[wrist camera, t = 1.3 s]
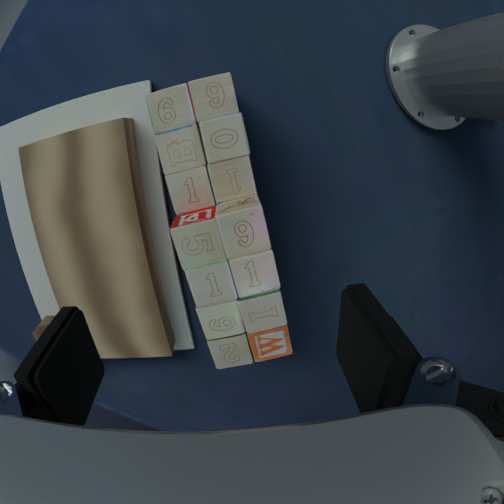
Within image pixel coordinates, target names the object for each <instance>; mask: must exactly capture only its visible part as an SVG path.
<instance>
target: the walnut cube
mask: <svg viewBox="0 0 504 504" xmlns="http://www.w3.org/2000/svg"><path fill="white" fill-rule="evenodd" d="M55 316H56V315H55ZM55 316H45V318H44V319H43V320H42V321H41V323H40V324H39V325H38V327H37V328H36V329H35V331H34V332H33V335H34V338H35V340H36V341H37V340H38V339H39V337H40V336H41V335H42V333H43V332H44V330H45V329H46V328H47V326H48V325H49V324H50V322H51V321H52V320H53V318H54V317H55Z"/></svg>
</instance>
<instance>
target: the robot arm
mask: <svg viewBox="0 0 504 504" xmlns="http://www.w3.org/2000/svg"><path fill="white" fill-rule="evenodd" d="M393 70H394V71H393ZM386 73H387V78H388V82H389V85H390V88H391V90H392V93H393V95H394V97H395V98H396V100H397V102H398V104H399V105H400V106H401V108H402V109H403V110H404V111H405V113H407V114H408V115H409V116H410V117H411V118H412V119H413V120H414V121H416V122H417V123H419V124H420V125H423V126H425V127H427V128H431V129H436V130H447V129H452V128H454V127H456V126H458V125H460V124H461V123H462V122H463V121H464V120H465V119H466V118H476V119H488V120H498V121H504V12H503V13H498V14H494V15H490V16H486V17H482V18H479V19H475V20H472V21H468V22H465V23H461V24H458V25H455V26H451V27H448V28H445V29H442V30H439V29H437V28H434V27H432V26H428V25H412V26H410V27H407V28H405V29H403V30H401V31H399V32H398V33H397V34H396V35H395V36H394V37H393V39H392V41H391V42H390V44H389V47H388V50H387V54H386ZM336 352H337V358H338V361H339V363H340V366H341V368H342V370H343V373H344V375H345V377H346V380H347V382H348V384H349V387H350V389H351V391H352V394H353V396H354V399H355V401H356V403H357V406H358V408H359V411H360V413H359V414H354V415H348V416H343V417H337V418H332V419H326V420H319V421H312V422H306V423H299V424H292V425H284V426H275V427H266V428H255V429H242V430H226V431H200V432H162V431H136V430H121V429H108V428H98V427H88V426H84V425H85V422H86V419H87V417H88V414H89V411H90V409H91V406H92V404H93V401H94V398H95V396H96V393H97V391H98V388H99V386H100V383H101V381H102V378H103V376H104V365H103V362H102V360H101V358H100V355H99V353H98V350H97V348H96V345H95V343H94V340H93V338H92V335H91V332H90V330H89V327H88V324H87V322H86V319H85V316H84V313H83V311H82V310H79V308H78V307H76V306H65V307H62V308H61V309H60V310H59V312H58V313H57V314H56V316H55V317H54V318H53V320H52V321H51V322H50V324H49V325H48V326H47V328H46V329H45V330H44V332H43V333H42V335H41V336H40V337H39V339H38V340H37V341H36V343H35V344H34V346H33V347H32V349H31V350H30V351H29V353H28V354H27V356H26V357H25V359H24V360H23V362H22V363H21V365H20V366H19V368H18V369H17V371H16V372H15V374H14V377H15V379H16V381H17V383H16V384H15V385H14V383H12V382H10V381H7V380H6V381H0V504H504V393H503V392H499V391H496V390H492V389H488V388H485V387H481V386H478V385H474V384H471V383H468V382H464V381H461V380H460V371H459V369H458V367H457V366H456V365H455V364H454V363H453V362H452V361H450V360H448V359H446V358H443V357H436V356H434V357H427V358H425V359H423V358H422V357H421V355H420V354H419V352H418V351H417V350H416V348H415V347H414V346H413V344H412V343H411V342H410V340H409V339H408V337H407V336H406V335H405V333H404V332H403V331H402V329H401V328H400V327H399V325H398V324H397V323H396V321H395V320H394V319H393V318H392V317H391V316H389V315H388V313H387V312H386V311H385V310H384V308H383V307H382V306H381V304H380V303H379V302H378V300H377V299H376V298H375V297H374V295H373V294H372V293H371V291H370V290H369V289H368V288H367V286H366V285H365V284H364V283H360V284H352V285H348V286H347V288H346V289H345V290H342V296H341V308H340V320H339V330H338V340H337V350H336Z"/></svg>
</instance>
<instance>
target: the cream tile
mask: <svg viewBox="0 0 504 504" xmlns="http://www.w3.org/2000/svg"><path fill="white" fill-rule="evenodd" d="M150 93H152V82H151V81H150V80H147V81H142V82H138V83H133V84H129V85H124V86H120V87H116V88H112V89H108V90H104V91H101V92H97V93H93V94H90V95H86V96H83V97H80V98H77V99H73V100H70V101H67V102H64V103H61V104H58V105H55V106H52V107H49V108H47V109H44V110H41V111H38V112H36V113H33V114H30V115H28V116H25V117H23V118H20V119H18V120H16V121H13V122H11V123H8V124H6V125H4V126H2V127H0V181H1V186H2V192H3V197H4V201H5V206H6V210H7V215H8V219H9V223H10V227H11V231H12V234H13V238H14V242H15V245H16V249H17V252H18V255H19V258H20V262H21V265H22V268H23V271H24V274H25V277H26V280H27V283H28V285H29V288H30V291H31V294H32V296H33V299H34V301H35V304H36V307H37V309H38V312H39V314H40V316H41V319H42V320H43V319H44V318H45V316H55V315H56V314H57V313H58V312H59V310H60V309H59V306H58V304H57V301H56V298H55V296H54V293H53V290H52V287H51V284H50V281H49V278H48V275H47V272H46V269H45V266H44V263H43V259H42V256H41V253H40V249H39V246H38V242H37V239H36V235H35V231H34V227H33V223H32V219H31V215H30V211H29V206H28V201H27V197H26V192H25V187H24V181H23V176H22V170H21V164H20V157H19V150H18V148H20V147H22V146H25V145H28V144H31V143H34V142H37V141H40V140H43V139H46V138H49V137H52V136H55V135H59V134H62V133H65V132H69V131H72V130H76V129H79V128H83V127H87V126H90V125H94V124H98V123H102V122H106V121H110V120H115V119H119V118H133V123H134V132H135V140H136V148H137V155H138V162H139V169H140V176H141V182H142V188H143V195H144V200H145V206H146V212H147V217H148V223H149V228H150V233H151V238H152V243H153V248H154V253H155V258H156V262H157V267H158V272H159V276H160V280H161V285H162V289H163V293H164V297H165V301H166V306H167V310H168V314H169V317H170V321H171V325H172V329H173V333H174V336H175V345H174V350H183V349H194V347H195V344H194V340H193V335H192V331H191V327H190V322H189V318H188V314H187V309H186V304H185V300H184V295H183V290H182V286H181V281H180V276H179V271H178V266H177V260H176V255H175V250H174V244H173V239H172V236H171V233H170V222H169V216H168V210H167V204H166V197H165V191H164V184H163V177H162V170H161V163H160V157H159V153H158V149H157V145H156V141H155V133H154V130H153V126H152V123H151V119H150V114H149V110H148V106H147V102H146V97H145V95H147V94H150Z"/></svg>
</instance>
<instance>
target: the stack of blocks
mask: <svg viewBox="0 0 504 504" xmlns="http://www.w3.org/2000/svg"><path fill="white" fill-rule="evenodd" d="M145 97H146V102H147V106H148V110H149V114H150V119H151V123H152V126H153V130H154V133H155V141H156V145H157V149H158V153H159V157H160V160H161V164H162V168H163V172H164V174H165V180H166V183H167V187H168V191H169V194H170V197H171V201H172V204H173V207H174V210H175V213H176V214H177V216H176V217H175V218H174V221H173V223H172V225H171V227H170V233H171V236H172V239H173V242H174V245H175V248H176V251H177V254H178V257H179V260H180V263H181V266H182V269H183V270H184V271H185V275H186V278H187V281H188V284H189V287H190V290H191V292H192V296H193V298H194V301H195V304H196V311H197V314H198V317H199V320H200V323H201V325H202V328H203V331H204V334H205V337H206V339H207V344H208V346H209V349H210V352H211V355H212V358H213V360H214V363H215V366H216V368H217V369H223V368H229V367H234V366H240V365H246V364H251V363H253V361H255V362H260V361H265V360H269V359H274V358H278V357H282V356H286V355H290V354H292V353H293V352H292V347H291V342H290V337H289V331H288V326H287V319H286V314H285V310H284V305H283V301H282V296H281V292H280V287H281V285H280V280H279V276H278V272H277V267H276V263H275V258H274V254H273V251H272V248H271V243H270V238H269V234H268V230H267V225H266V221H265V217H264V212H263V208H262V205H261V203H260V200H259V197H258V194H257V189H256V185H255V180H254V175H253V170H252V165H251V161H250V156H249V155H250V149H249V144H248V139H247V134H246V130H245V125H244V121H243V116H242V113H241V112H239V108H238V103H237V99H236V94H235V90H234V85H233V81H232V77H231V73H230V72H229V73H224V74H219V75H214V76H210V77H206V78H202V79H197V80H194V81H189V82H188V83H185V84H181V85H177V86H173V87H169V88H166V89H163V90H159V91H156V92H153V93H150V94H147V95H145Z"/></svg>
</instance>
